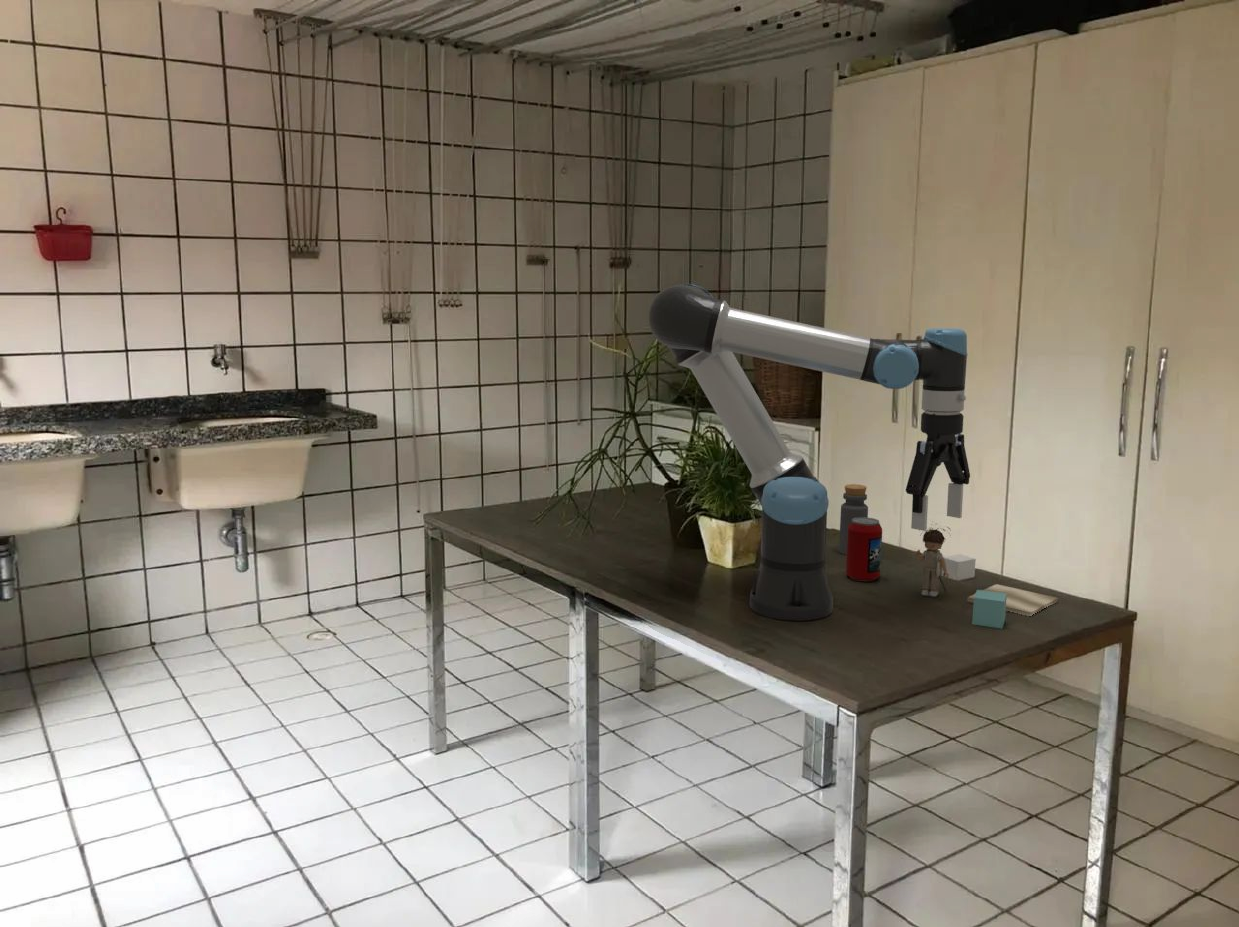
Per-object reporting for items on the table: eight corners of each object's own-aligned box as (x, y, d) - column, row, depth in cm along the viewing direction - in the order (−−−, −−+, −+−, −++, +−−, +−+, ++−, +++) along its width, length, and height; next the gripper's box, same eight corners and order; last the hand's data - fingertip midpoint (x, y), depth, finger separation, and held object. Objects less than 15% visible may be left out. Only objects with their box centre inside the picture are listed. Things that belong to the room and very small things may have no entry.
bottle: (863, 549, 225) (867, 483, 222) (867, 556, 219) (871, 489, 216) (837, 548, 225) (840, 483, 222) (840, 555, 219) (843, 488, 217)
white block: (957, 581, 202) (958, 562, 201) (941, 576, 205) (943, 557, 204) (974, 577, 204) (975, 558, 203) (958, 572, 207) (960, 554, 207)
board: (1030, 616, 180) (1030, 612, 180) (967, 601, 189) (967, 597, 188) (1057, 602, 188) (1057, 597, 188) (996, 587, 197) (996, 584, 197)
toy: (911, 595, 192) (915, 520, 189) (917, 588, 197) (921, 514, 194) (944, 600, 189) (949, 524, 186) (949, 592, 194) (954, 518, 191)
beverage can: (880, 583, 199) (883, 525, 197) (846, 581, 201) (848, 523, 198) (878, 574, 206) (882, 517, 204) (845, 572, 207) (848, 515, 205)
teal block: (1002, 628, 174) (1004, 601, 173) (972, 624, 176) (973, 597, 175) (1004, 620, 179) (1006, 593, 178) (975, 616, 181) (977, 589, 180)
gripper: (927, 420, 175) (921, 538, 179) (992, 407, 192) (986, 514, 196) (889, 417, 180) (884, 531, 184) (955, 404, 197) (950, 508, 201)
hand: (936, 523), depth 190 cm, fingers open, 13 cm apart
